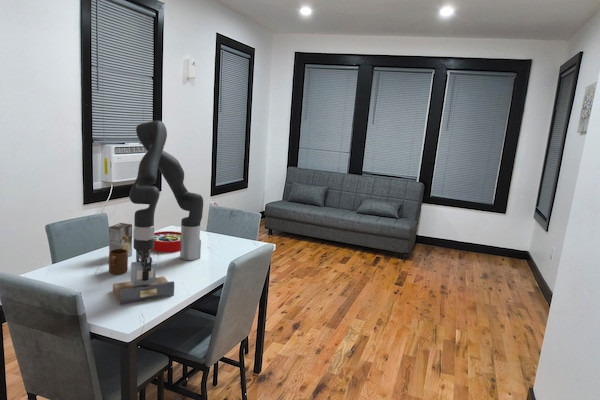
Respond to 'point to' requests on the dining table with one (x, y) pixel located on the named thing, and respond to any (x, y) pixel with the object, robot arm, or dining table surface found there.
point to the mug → (118, 261)
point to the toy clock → (167, 241)
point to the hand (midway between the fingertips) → (143, 277)
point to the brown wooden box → (143, 291)
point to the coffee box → (121, 237)
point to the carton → (137, 274)
